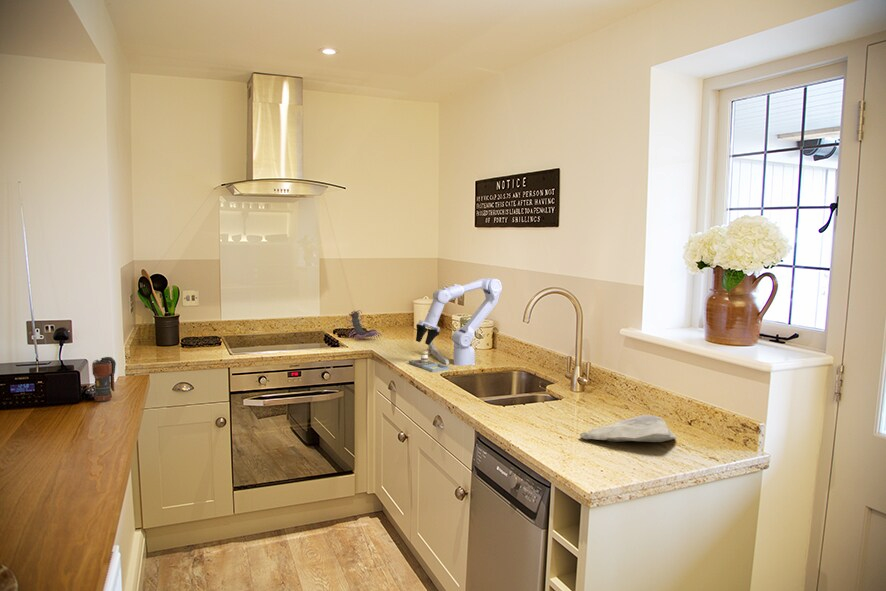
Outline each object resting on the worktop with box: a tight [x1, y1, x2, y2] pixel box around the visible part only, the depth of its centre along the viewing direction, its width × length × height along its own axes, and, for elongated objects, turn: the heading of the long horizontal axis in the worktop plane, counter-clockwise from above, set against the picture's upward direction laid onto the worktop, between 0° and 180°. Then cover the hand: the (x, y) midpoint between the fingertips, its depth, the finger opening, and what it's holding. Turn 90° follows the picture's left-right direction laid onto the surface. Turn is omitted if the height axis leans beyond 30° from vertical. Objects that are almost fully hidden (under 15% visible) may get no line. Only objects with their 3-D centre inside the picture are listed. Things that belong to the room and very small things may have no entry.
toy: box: [345, 310, 383, 341], centre depth 342 cm, size 12×26×15 cm, turn 35°
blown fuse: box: [420, 350, 429, 364], centre depth 274 cm, size 3×3×6 cm
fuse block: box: [408, 359, 436, 369], centre depth 277 cm, size 8×10×2 cm
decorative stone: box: [579, 414, 678, 443], centre depth 186 cm, size 28×7×30 cm
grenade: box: [91, 356, 117, 403], centre depth 213 cm, size 6×8×15 cm
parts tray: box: [421, 362, 451, 373], centre depth 269 cm, size 9×9×2 cm
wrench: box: [426, 340, 450, 366], centre depth 292 cm, size 8×2×30 cm
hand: (422, 342), depth 272 cm, fingers open, 7 cm apart
